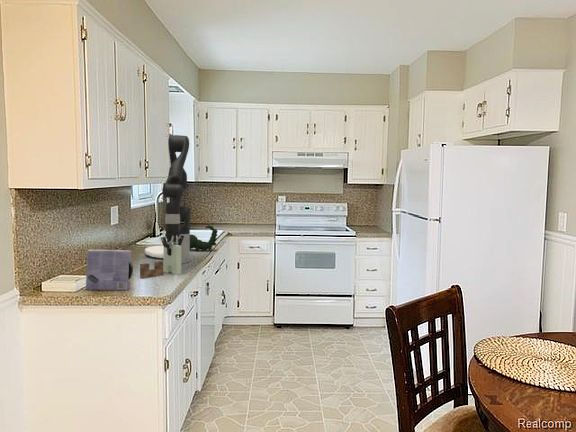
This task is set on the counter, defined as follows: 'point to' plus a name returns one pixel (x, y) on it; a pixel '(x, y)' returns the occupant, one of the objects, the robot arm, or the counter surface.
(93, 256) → the cake pan box
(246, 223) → the counter surface
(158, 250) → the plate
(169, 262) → the pale green plank
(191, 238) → the toy figurine
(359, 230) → the counter surface
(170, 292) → the counter surface
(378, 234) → the counter surface
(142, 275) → the walnut u-shaped block
